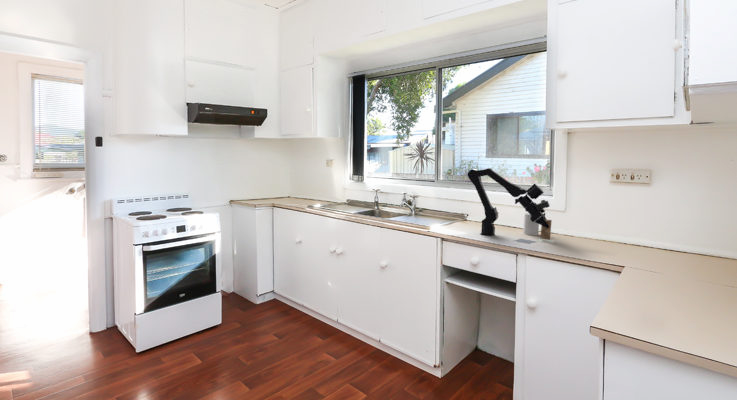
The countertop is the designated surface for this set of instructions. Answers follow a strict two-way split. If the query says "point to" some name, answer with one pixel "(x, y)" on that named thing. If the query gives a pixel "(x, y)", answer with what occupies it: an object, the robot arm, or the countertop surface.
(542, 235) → the walnut block
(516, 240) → the silicone mat
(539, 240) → the ceramic tile
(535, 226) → the cup
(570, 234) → the countertop surface
